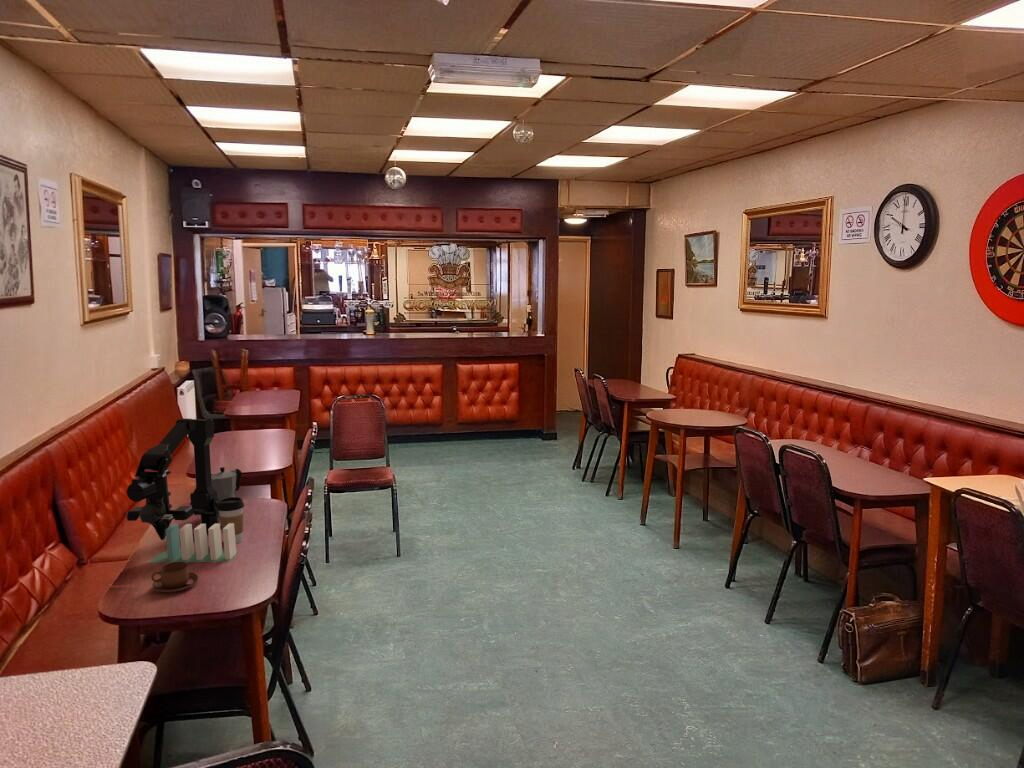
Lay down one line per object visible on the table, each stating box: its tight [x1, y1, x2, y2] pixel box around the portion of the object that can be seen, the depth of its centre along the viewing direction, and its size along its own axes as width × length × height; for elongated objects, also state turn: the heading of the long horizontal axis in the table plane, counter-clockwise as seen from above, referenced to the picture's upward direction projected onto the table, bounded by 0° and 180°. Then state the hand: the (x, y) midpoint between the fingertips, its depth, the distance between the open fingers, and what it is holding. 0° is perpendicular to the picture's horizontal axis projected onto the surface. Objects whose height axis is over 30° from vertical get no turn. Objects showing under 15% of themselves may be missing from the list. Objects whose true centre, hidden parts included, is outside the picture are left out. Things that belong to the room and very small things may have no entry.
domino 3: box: [193, 523, 209, 560], centre depth 230 cm, size 5×2×10 cm, turn 179°
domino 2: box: [179, 523, 195, 560], centre depth 230 cm, size 5×2×10 cm, turn 179°
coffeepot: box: [211, 467, 243, 517], centre depth 272 cm, size 15×9×18 cm, turn 154°
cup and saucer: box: [150, 562, 199, 593], centre depth 210 cm, size 12×12×6 cm
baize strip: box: [148, 551, 240, 564], centre depth 231 cm, size 8×26×1 cm, turn 89°
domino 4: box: [207, 523, 223, 560], centre depth 230 cm, size 5×2×10 cm, turn 179°
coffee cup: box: [217, 496, 245, 545], centre depth 242 cm, size 8×8×15 cm
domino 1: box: [165, 523, 181, 560], centre depth 230 cm, size 5×2×10 cm, turn 179°
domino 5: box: [222, 523, 237, 560], centre depth 230 cm, size 5×2×10 cm, turn 179°
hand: (162, 539), depth 230 cm, fingers closed
